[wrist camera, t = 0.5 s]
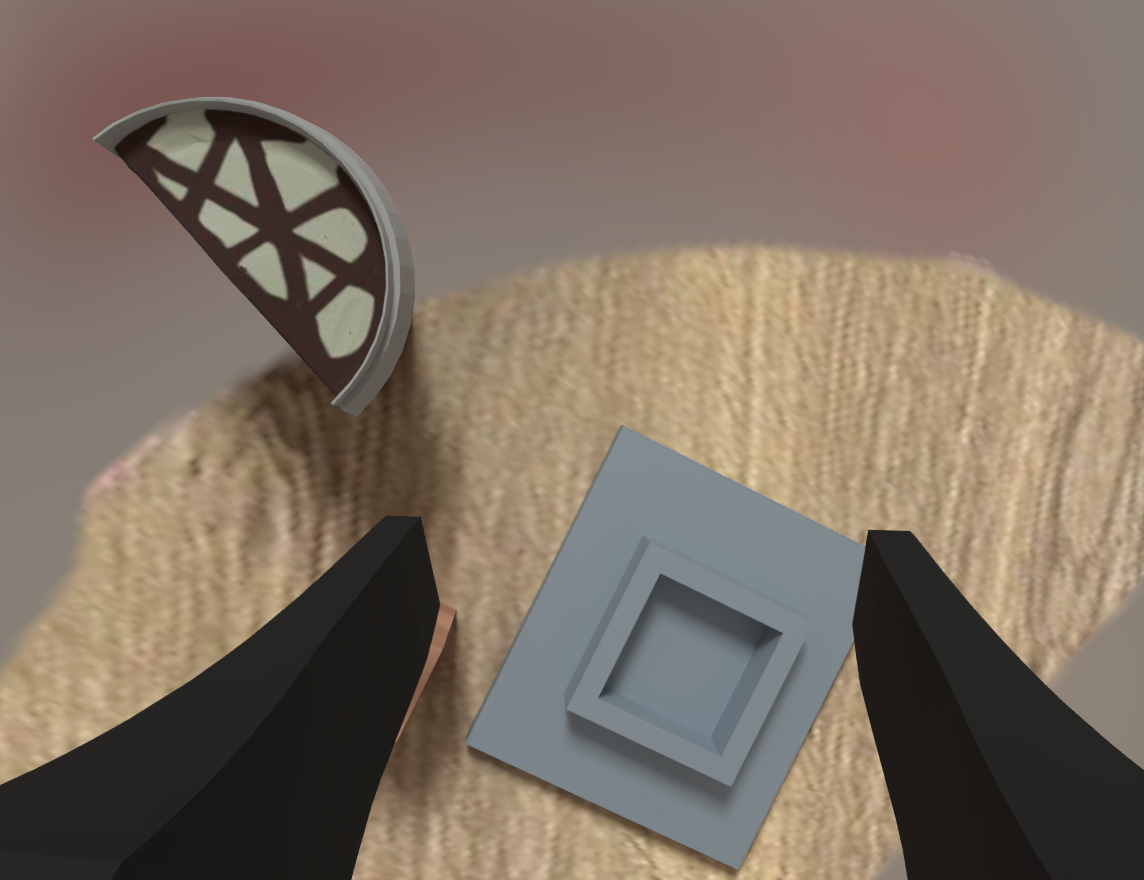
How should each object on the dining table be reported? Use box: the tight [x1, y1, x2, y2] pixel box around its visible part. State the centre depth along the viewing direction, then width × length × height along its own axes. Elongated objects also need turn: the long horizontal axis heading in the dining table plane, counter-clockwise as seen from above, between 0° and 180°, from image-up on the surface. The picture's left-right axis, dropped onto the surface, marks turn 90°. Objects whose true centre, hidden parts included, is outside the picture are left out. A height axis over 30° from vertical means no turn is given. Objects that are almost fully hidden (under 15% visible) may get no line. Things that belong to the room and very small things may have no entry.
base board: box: [465, 425, 865, 870], centre depth 36 cm, size 16×14×3 cm
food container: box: [92, 97, 415, 417], centre depth 31 cm, size 12×6×10 cm, turn 41°
